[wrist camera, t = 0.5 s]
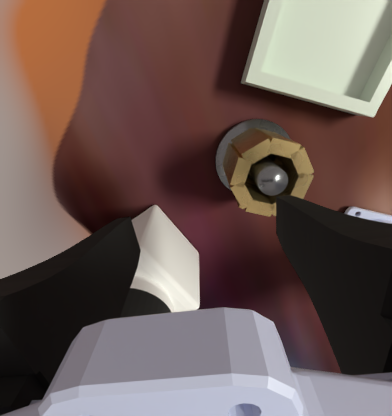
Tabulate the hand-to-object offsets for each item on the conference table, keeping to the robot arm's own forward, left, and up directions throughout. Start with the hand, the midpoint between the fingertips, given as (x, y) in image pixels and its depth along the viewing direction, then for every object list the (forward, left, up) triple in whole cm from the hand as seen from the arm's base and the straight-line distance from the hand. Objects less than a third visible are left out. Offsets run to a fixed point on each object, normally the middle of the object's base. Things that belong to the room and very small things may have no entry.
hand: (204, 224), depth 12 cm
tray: (-6, -12, -10) cm, 17 cm away
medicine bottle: (+3, +9, -10) cm, 14 cm away
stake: (-4, -2, -10) cm, 11 cm away
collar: (-4, -2, -9) cm, 10 cm away
